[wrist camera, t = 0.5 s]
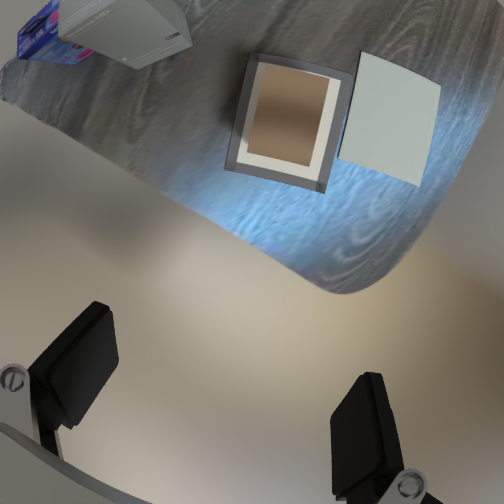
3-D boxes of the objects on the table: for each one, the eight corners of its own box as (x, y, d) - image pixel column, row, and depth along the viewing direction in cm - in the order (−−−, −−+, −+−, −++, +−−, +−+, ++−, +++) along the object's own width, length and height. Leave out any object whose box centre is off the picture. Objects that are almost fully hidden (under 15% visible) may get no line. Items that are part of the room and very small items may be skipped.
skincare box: (138, 71, 28) (53, 48, 14) (130, 31, 26) (53, -2, 11) (197, 46, 26) (133, -6, 12) (186, 6, 24) (126, -52, 9)
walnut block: (270, 77, 27) (266, 64, 21) (322, 89, 27) (329, 78, 21) (254, 150, 31) (246, 152, 25) (305, 162, 30) (309, 167, 25)
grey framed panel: (251, 54, 27) (250, 51, 26) (351, 76, 26) (352, 74, 25) (226, 169, 33) (224, 169, 32) (323, 192, 32) (324, 193, 31)
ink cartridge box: (73, 68, 28) (2, 60, 15) (70, 42, 26) (4, 29, 13) (124, 36, 26) (54, 8, 13) (119, 10, 24) (56, -21, 11)
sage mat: (359, 53, 25) (361, 51, 24) (437, 87, 24) (440, 86, 23) (337, 157, 30) (338, 158, 29) (416, 185, 30) (419, 186, 29)
